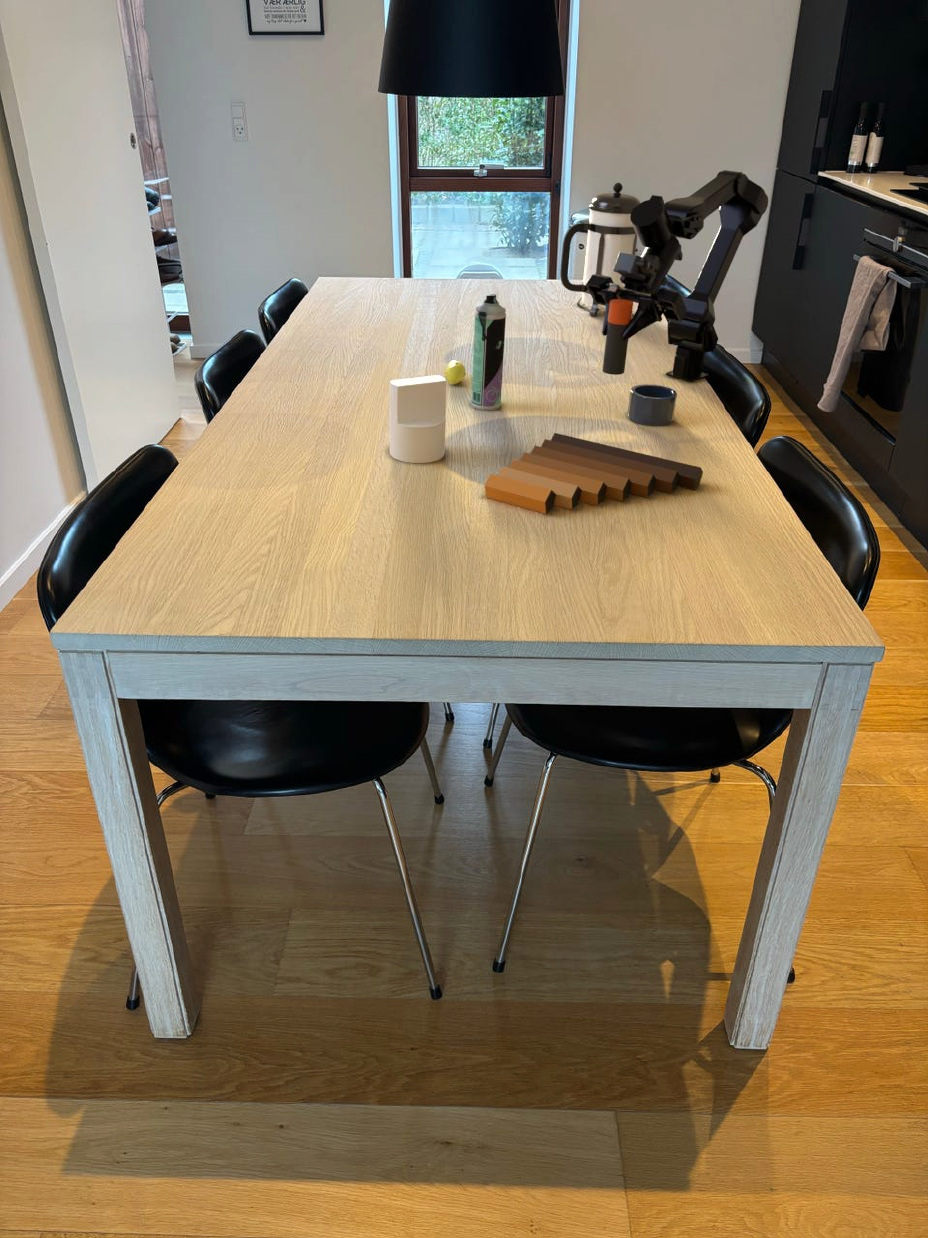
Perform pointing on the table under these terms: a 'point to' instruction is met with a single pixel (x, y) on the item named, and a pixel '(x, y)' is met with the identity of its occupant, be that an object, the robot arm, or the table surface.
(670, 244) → the robot arm
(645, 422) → the pen cup
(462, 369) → the yellow potato
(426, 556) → the table surface
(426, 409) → the base with upright slab
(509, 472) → the pan flute
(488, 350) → the spray can
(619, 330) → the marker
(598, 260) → the coffee press
